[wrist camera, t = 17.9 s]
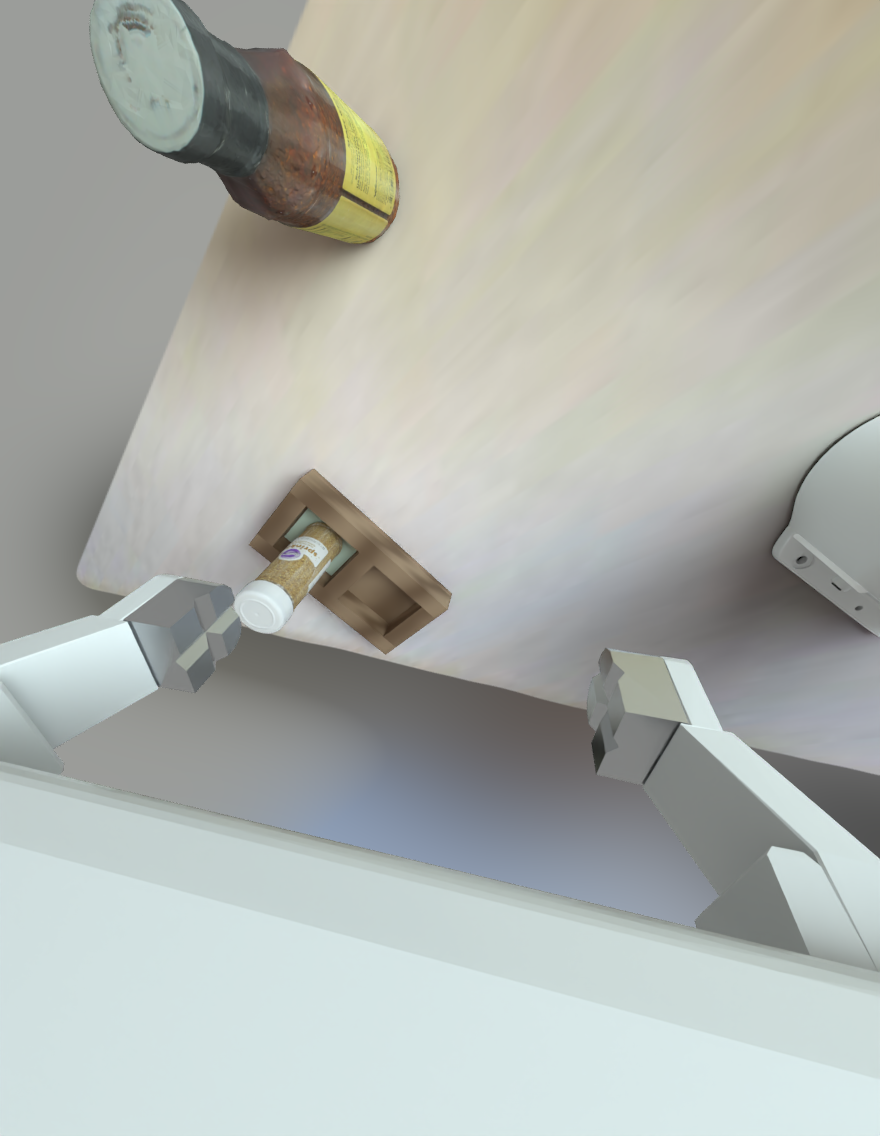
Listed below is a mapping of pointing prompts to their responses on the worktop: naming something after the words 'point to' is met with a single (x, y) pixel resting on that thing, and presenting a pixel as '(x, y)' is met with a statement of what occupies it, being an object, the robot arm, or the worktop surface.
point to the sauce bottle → (244, 120)
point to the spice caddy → (357, 566)
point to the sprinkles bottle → (287, 579)
